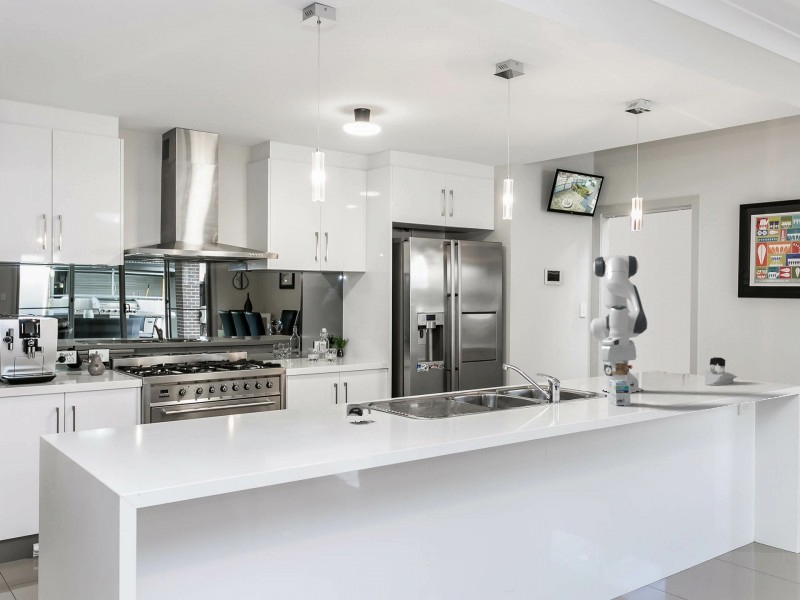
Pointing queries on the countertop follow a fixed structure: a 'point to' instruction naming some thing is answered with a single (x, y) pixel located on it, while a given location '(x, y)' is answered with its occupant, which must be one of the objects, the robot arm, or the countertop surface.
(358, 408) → the mug
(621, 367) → the walnut cube
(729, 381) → the iron
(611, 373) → the robot arm
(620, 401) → the light bulb box
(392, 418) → the countertop surface
